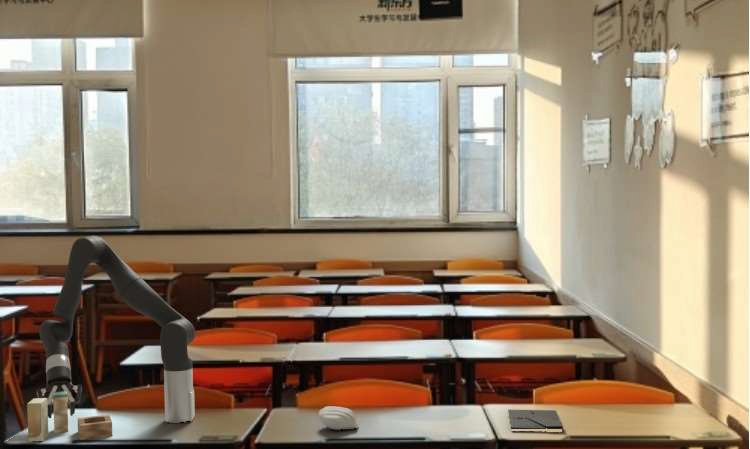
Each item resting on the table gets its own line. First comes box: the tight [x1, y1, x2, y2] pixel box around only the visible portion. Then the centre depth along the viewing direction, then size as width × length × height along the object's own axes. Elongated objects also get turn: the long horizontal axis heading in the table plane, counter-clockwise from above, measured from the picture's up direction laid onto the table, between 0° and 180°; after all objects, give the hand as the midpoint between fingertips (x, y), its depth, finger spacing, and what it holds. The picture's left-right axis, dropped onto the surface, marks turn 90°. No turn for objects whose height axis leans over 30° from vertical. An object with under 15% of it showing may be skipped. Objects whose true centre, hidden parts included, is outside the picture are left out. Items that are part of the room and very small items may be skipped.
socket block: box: [77, 414, 113, 441], centre depth 252 cm, size 10×10×4 cm
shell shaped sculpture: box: [317, 405, 359, 431], centre depth 253 cm, size 13×13×6 cm
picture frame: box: [507, 409, 564, 430], centre depth 257 cm, size 16×3×21 cm
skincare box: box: [26, 397, 50, 442], centre depth 246 cm, size 6×4×12 cm
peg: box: [53, 391, 69, 434], centre depth 256 cm, size 4×4×12 cm
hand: (61, 415), depth 254 cm, fingers open, 5 cm apart
